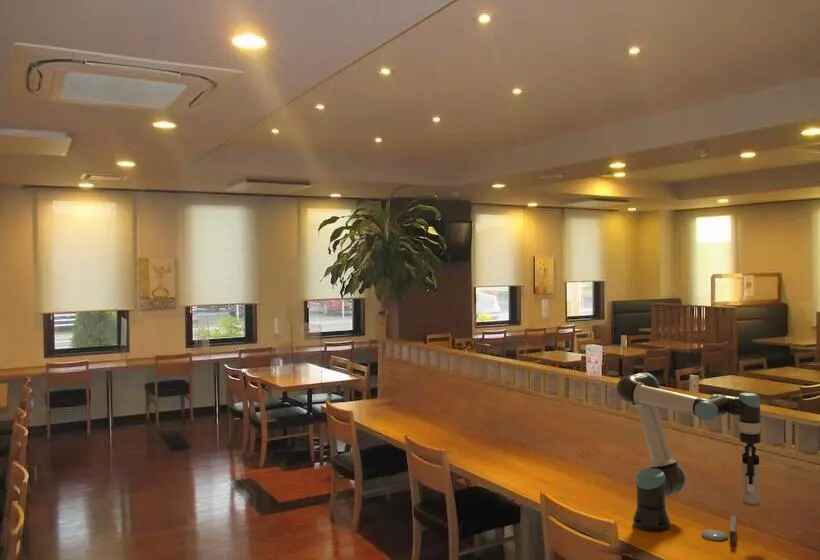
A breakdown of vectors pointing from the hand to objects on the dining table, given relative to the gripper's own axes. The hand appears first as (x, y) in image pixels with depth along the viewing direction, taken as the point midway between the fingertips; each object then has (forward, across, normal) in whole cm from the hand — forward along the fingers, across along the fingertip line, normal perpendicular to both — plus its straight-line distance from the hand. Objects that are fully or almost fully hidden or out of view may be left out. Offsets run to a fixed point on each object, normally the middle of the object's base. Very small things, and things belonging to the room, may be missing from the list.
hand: (750, 489), depth 278 cm
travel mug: (+6, 0, 0) cm, 6 cm away
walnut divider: (+21, +1, +7) cm, 22 cm away
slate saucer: (+21, 0, +14) cm, 25 cm away
